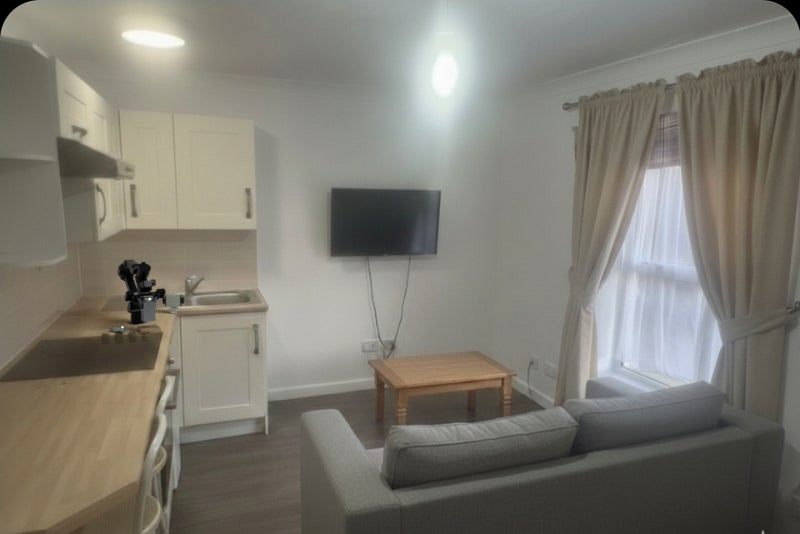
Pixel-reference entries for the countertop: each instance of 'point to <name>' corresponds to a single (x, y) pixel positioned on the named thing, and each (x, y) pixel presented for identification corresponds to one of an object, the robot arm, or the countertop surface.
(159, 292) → the robot arm
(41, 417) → the countertop surface
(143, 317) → the housing
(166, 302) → the pneumatic valve
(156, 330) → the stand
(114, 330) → the bolt
